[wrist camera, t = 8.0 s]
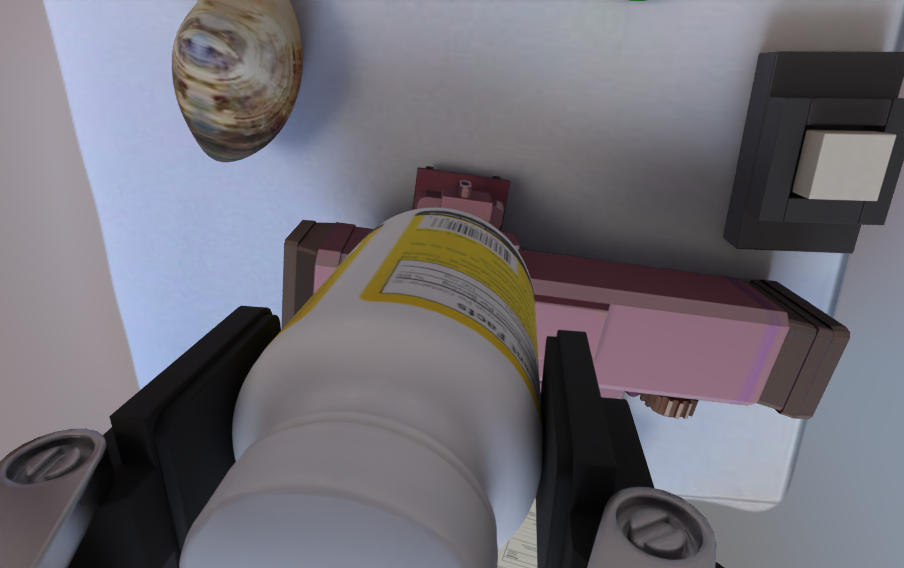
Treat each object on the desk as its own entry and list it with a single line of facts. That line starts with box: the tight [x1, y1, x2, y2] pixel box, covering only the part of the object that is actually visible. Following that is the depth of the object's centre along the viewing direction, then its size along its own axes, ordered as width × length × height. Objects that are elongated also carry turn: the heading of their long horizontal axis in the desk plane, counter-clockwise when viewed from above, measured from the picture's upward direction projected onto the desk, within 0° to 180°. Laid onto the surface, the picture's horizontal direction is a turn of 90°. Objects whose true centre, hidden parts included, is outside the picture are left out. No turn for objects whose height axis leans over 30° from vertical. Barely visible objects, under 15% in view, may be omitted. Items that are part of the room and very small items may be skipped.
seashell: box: [172, 0, 303, 162], centre depth 28 cm, size 10×6×8 cm, turn 161°
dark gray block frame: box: [724, 52, 904, 253], centre depth 28 cm, size 10×6×4 cm, turn 0°
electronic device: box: [282, 166, 850, 419], centre depth 29 cm, size 11×27×10 cm, turn 82°
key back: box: [792, 130, 896, 201], centre depth 26 cm, size 3×3×2 cm
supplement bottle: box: [179, 207, 543, 568], centre depth 11 cm, size 5×5×10 cm
